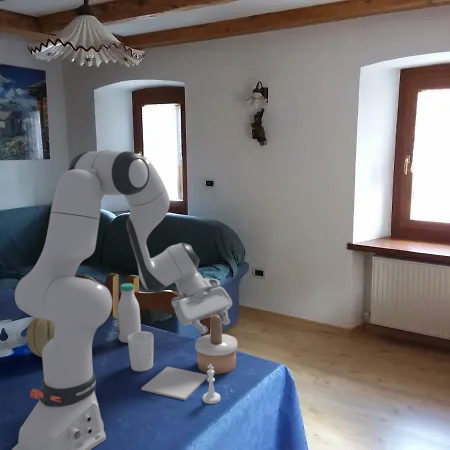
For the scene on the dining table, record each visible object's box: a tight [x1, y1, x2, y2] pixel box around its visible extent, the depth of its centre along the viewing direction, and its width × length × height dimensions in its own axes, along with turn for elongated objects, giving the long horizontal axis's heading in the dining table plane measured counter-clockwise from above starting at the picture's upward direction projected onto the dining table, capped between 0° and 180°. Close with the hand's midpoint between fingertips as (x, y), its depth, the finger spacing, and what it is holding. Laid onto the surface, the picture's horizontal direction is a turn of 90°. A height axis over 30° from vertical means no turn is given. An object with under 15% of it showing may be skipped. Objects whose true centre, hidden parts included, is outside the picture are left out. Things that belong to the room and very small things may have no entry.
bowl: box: [196, 349, 237, 375], centre depth 150 cm, size 12×12×6 cm
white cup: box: [127, 330, 155, 372], centre depth 149 cm, size 8×8×10 cm
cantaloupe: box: [26, 317, 55, 358], centre depth 158 cm, size 15×15×15 cm
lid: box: [194, 314, 238, 356], centre depth 148 cm, size 13×13×10 cm
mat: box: [141, 366, 209, 401], centre depth 139 cm, size 14×14×1 cm
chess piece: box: [201, 364, 221, 405], centre depth 130 cm, size 5×5×10 cm
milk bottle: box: [117, 282, 142, 344], centre depth 169 cm, size 8×8×20 cm
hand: (216, 328), depth 148 cm, fingers open, 8 cm apart
